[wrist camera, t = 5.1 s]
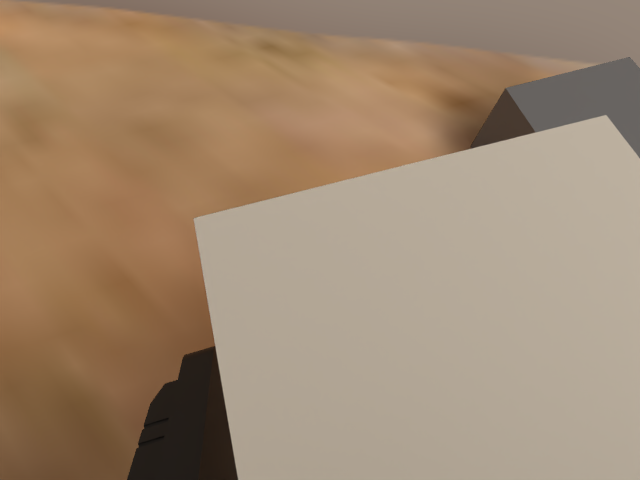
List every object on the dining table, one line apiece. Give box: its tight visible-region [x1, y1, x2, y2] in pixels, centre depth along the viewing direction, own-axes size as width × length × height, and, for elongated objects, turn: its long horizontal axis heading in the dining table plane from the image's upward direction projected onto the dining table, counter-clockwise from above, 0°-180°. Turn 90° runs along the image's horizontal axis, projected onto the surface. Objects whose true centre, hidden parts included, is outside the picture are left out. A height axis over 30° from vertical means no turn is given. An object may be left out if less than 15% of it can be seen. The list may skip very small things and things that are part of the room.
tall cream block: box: [194, 115, 640, 480], centre depth 8 cm, size 4×4×12 cm
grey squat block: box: [471, 57, 640, 158], centre depth 16 cm, size 6×6×4 cm
